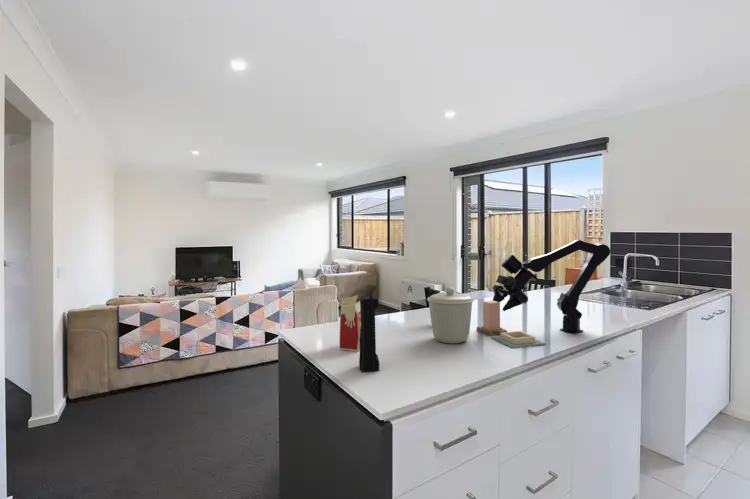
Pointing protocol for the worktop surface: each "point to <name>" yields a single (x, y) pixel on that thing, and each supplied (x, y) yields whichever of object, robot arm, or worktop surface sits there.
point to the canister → (450, 316)
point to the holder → (490, 331)
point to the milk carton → (350, 324)
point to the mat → (517, 339)
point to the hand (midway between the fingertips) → (497, 308)
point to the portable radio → (368, 334)
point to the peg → (491, 315)
